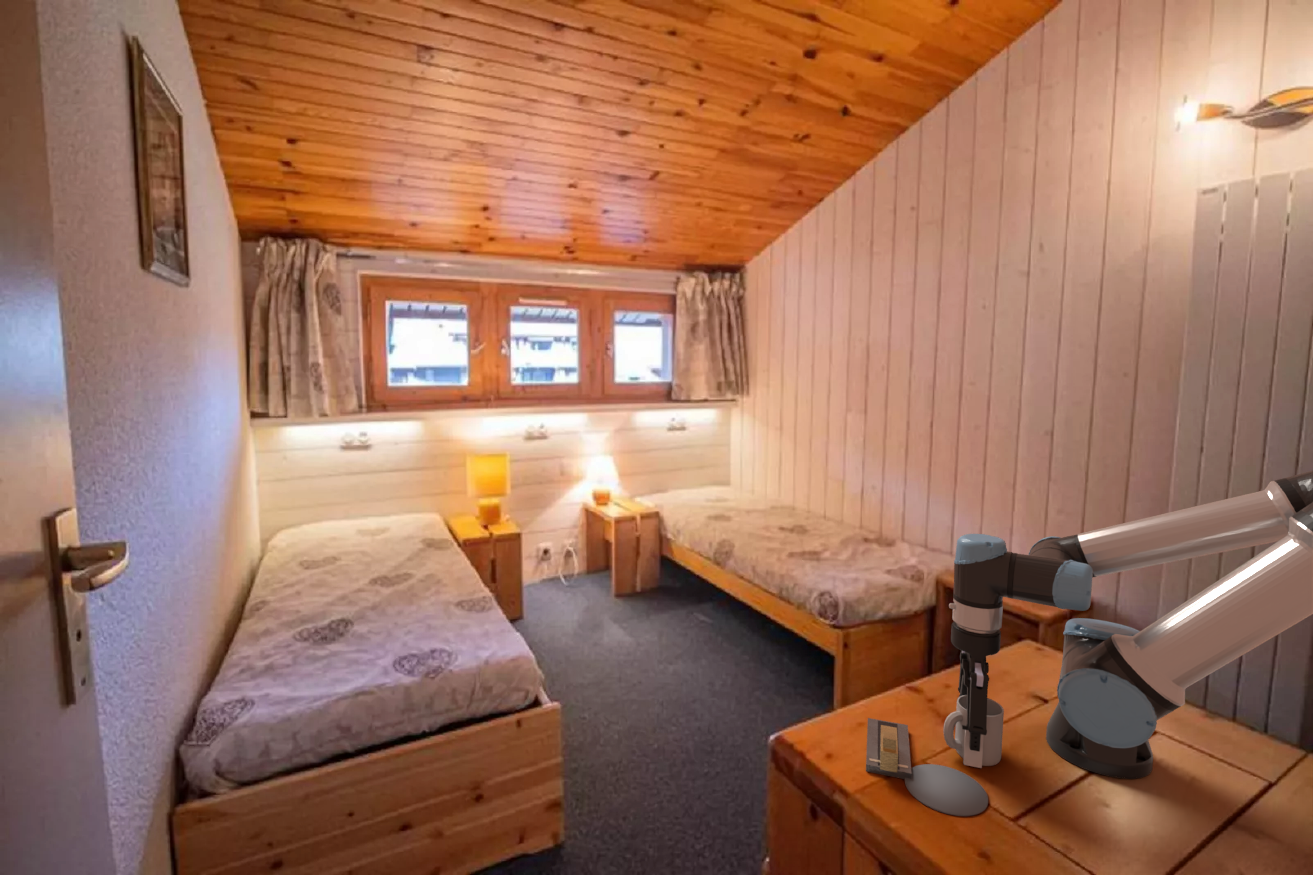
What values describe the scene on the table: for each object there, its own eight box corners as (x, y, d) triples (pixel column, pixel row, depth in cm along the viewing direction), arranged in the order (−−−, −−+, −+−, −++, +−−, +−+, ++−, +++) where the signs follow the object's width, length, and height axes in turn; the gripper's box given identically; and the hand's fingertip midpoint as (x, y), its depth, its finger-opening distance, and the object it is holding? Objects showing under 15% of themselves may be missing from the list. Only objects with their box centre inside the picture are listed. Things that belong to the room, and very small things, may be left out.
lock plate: (907, 731, 114) (907, 724, 114) (911, 780, 100) (911, 773, 100) (867, 723, 116) (867, 717, 116) (865, 771, 102) (866, 763, 102)
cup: (1010, 765, 104) (1013, 715, 103) (955, 769, 103) (957, 718, 102) (983, 740, 111) (986, 693, 110) (931, 744, 110) (933, 696, 109)
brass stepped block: (896, 745, 107) (897, 716, 106) (897, 772, 99) (898, 742, 99) (880, 742, 108) (881, 714, 107) (880, 769, 100) (881, 739, 100)
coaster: (981, 775, 101) (981, 773, 101) (994, 824, 90) (994, 822, 90) (903, 759, 105) (903, 758, 105) (906, 805, 94) (906, 803, 94)
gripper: (945, 602, 116) (940, 717, 118) (959, 646, 97) (951, 782, 99) (990, 607, 113) (983, 724, 115) (1013, 653, 94) (1004, 793, 96)
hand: (969, 751), depth 107 cm, fingers open, 7 cm apart
